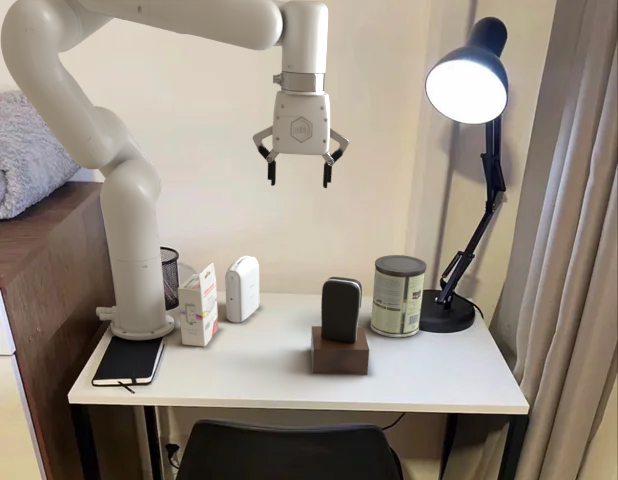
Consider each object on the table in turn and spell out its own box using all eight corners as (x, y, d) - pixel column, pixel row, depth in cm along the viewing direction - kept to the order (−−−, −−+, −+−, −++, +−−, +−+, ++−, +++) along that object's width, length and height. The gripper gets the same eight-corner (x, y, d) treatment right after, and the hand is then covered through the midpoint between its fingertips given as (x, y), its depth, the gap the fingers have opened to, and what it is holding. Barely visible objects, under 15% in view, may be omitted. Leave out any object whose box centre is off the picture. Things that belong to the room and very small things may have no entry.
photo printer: (242, 324, 139) (241, 267, 132) (223, 321, 140) (221, 264, 134) (262, 307, 147) (261, 252, 141) (244, 304, 148) (243, 250, 142)
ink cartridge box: (195, 327, 137) (191, 258, 129) (218, 329, 136) (216, 260, 129) (180, 344, 130) (175, 272, 122) (204, 347, 129) (201, 275, 121)
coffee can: (377, 314, 145) (383, 251, 138) (423, 322, 142) (432, 259, 135) (363, 332, 137) (368, 266, 130) (411, 341, 134) (419, 274, 127)
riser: (312, 373, 121) (313, 349, 118) (310, 349, 129) (311, 326, 127) (367, 374, 121) (369, 349, 119) (361, 350, 130) (363, 326, 127)
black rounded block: (360, 336, 124) (364, 277, 118) (356, 344, 120) (360, 284, 115) (324, 330, 125) (326, 272, 119) (318, 339, 122) (321, 279, 116)
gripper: (251, 83, 111) (251, 188, 120) (354, 88, 111) (346, 192, 120) (254, 79, 117) (253, 178, 126) (351, 84, 118) (344, 183, 127)
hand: (299, 185), depth 123 cm, fingers open, 9 cm apart
